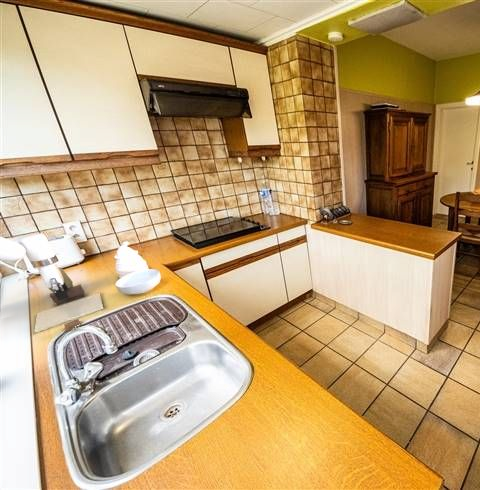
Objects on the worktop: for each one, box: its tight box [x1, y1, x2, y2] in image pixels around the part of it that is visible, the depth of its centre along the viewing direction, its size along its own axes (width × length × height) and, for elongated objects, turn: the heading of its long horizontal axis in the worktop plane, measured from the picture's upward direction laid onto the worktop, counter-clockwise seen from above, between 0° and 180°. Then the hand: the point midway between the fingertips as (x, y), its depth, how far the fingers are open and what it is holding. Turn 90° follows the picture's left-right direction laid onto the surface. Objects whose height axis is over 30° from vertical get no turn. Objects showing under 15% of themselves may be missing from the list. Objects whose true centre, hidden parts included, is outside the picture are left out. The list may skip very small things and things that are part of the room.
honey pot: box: [113, 241, 150, 279], centre depth 143 cm, size 13×13×18 cm
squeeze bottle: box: [48, 267, 74, 293], centre depth 128 cm, size 8×8×18 cm
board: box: [34, 292, 105, 334], centre depth 115 cm, size 20×17×1 cm
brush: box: [49, 284, 86, 307], centre depth 123 cm, size 10×3×6 cm, turn 137°
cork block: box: [63, 318, 82, 333], centre depth 105 cm, size 4×4×2 cm
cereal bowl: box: [115, 268, 162, 296], centre depth 128 cm, size 17×17×7 cm
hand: (63, 294), depth 122 cm, fingers open, 9 cm apart
